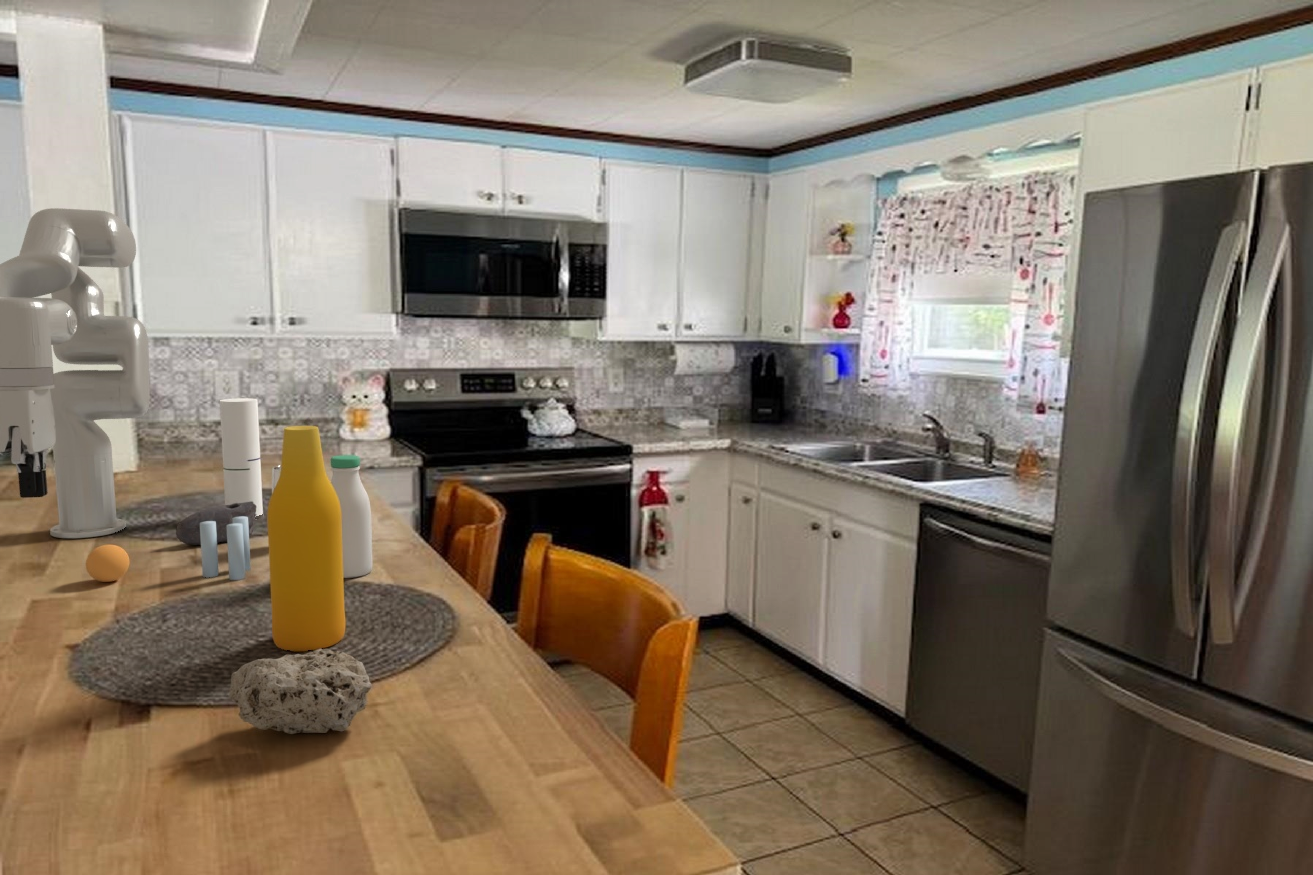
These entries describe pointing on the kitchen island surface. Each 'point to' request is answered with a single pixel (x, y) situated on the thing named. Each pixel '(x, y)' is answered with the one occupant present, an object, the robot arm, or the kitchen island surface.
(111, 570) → the ball
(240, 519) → the pin back right
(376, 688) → the kitchen island surface
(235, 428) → the cylindrical container
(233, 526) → the pin back left
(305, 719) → the pumice stone
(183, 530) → the perforated stone tool
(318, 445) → the beer bottle
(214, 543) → the pin front
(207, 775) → the kitchen island surface
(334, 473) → the milk bottle
